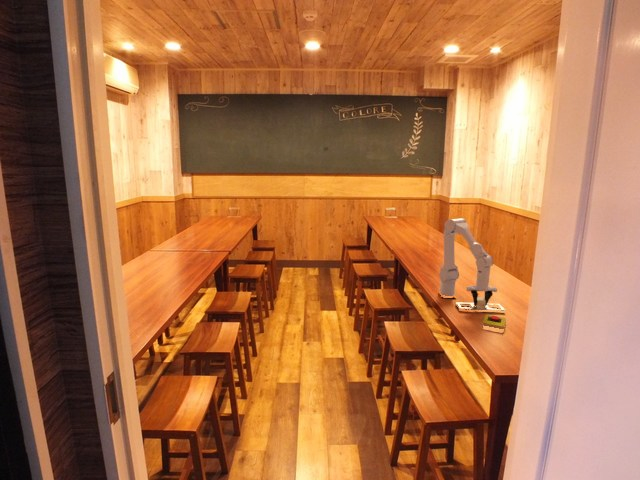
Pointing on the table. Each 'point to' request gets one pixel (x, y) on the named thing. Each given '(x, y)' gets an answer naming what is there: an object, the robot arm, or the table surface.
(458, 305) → the tan slotted board
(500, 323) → the emergency button
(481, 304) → the birch peg
